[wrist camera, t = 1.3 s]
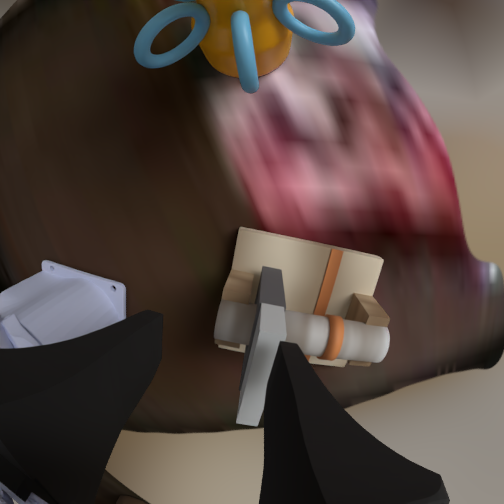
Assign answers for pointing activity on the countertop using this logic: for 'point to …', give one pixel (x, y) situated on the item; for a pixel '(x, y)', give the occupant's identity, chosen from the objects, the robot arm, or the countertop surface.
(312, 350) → the pipe rig
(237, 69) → the yellow blue ringed piece
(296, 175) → the countertop surface
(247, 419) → the grey bent plate
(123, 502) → the beer bottle
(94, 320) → the robot arm
